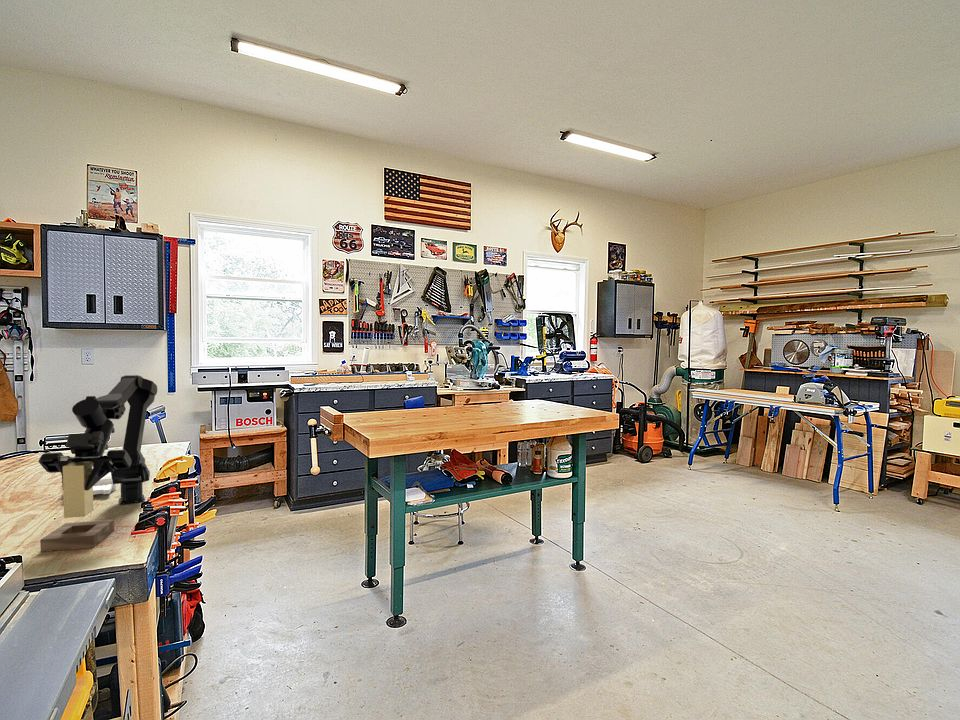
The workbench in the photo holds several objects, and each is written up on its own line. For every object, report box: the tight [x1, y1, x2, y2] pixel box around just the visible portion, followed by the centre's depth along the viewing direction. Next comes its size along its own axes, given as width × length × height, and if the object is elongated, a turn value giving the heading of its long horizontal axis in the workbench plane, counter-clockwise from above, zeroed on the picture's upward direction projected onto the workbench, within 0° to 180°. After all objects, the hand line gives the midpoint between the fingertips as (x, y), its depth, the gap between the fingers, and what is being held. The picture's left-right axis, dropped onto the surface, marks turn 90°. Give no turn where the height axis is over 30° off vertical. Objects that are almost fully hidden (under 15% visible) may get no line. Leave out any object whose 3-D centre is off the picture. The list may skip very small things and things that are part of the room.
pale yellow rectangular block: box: [62, 461, 94, 519], centre depth 124 cm, size 4×4×13 cm
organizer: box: [92, 467, 119, 496], centre depth 170 cm, size 13×5×35 cm
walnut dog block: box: [39, 519, 115, 552], centre depth 125 cm, size 11×11×3 cm
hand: (75, 490), depth 123 cm, fingers closed on pale yellow rectangular block, 4 cm apart
